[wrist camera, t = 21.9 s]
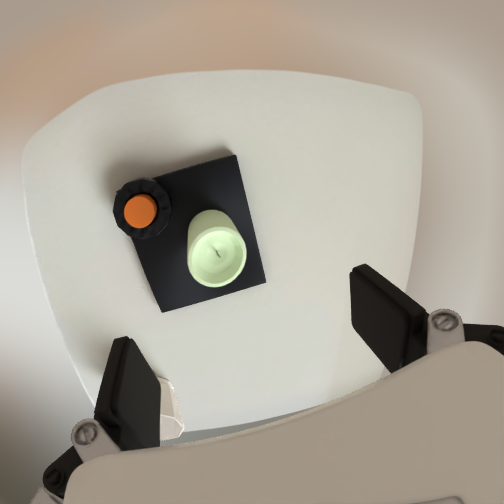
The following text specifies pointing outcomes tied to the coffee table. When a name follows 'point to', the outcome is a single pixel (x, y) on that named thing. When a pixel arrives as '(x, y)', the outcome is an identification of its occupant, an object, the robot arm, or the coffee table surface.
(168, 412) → the cup
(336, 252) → the coffee table surface
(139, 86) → the coffee table surface
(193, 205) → the scale
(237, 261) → the candle
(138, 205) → the button
